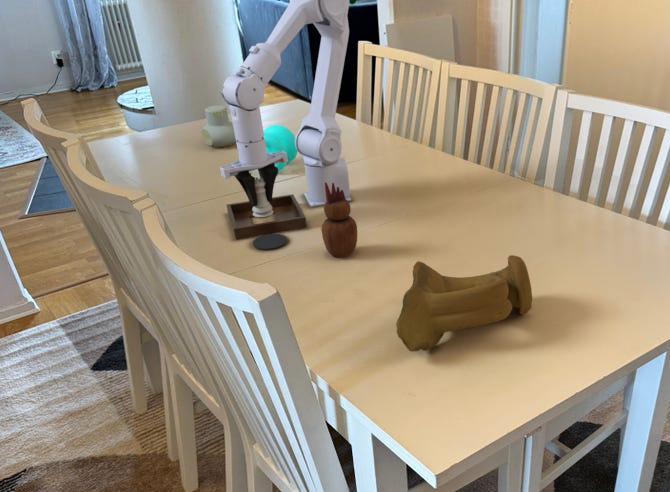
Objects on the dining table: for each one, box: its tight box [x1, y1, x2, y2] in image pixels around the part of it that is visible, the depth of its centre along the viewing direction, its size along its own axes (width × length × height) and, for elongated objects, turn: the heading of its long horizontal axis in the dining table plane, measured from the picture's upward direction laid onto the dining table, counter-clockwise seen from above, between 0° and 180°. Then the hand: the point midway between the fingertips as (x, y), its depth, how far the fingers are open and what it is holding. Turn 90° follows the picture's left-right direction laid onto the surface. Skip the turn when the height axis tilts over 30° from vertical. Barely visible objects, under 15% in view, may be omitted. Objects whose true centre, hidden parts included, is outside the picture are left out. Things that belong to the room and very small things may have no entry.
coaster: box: [252, 233, 288, 251], centre depth 140 cm, size 7×7×1 cm
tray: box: [226, 194, 308, 241], centre depth 148 cm, size 15×14×2 cm
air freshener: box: [200, 104, 236, 148], centre depth 190 cm, size 11×8×10 cm
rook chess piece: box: [252, 176, 274, 220], centre depth 146 cm, size 4×4×8 cm
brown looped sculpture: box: [396, 254, 533, 353], centre depth 108 cm, size 18×13×22 cm
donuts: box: [263, 124, 298, 173], centre depth 173 cm, size 10×10×10 cm
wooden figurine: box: [320, 182, 358, 258], centre depth 130 cm, size 7×6×15 cm
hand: (261, 202), depth 146 cm, fingers closed on rook chess piece, 3 cm apart
